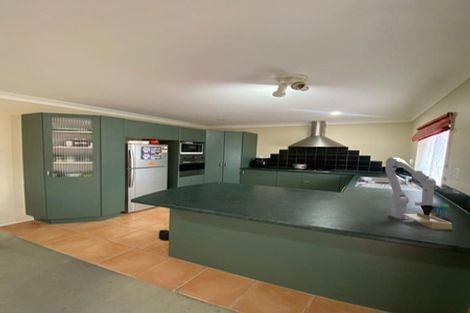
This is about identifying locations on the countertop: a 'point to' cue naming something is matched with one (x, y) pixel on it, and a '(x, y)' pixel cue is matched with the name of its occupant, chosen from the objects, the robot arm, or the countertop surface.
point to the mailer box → (437, 224)
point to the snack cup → (440, 211)
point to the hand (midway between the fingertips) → (426, 216)
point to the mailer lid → (420, 217)
